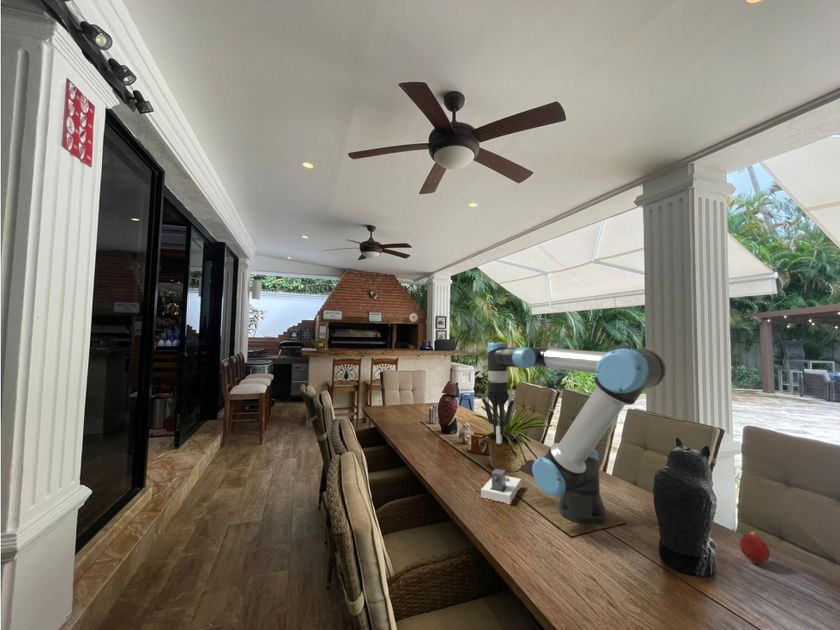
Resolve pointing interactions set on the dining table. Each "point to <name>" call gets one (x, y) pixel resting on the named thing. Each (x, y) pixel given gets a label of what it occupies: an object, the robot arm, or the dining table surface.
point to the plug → (498, 480)
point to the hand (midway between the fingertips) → (499, 442)
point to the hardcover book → (528, 468)
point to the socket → (505, 496)
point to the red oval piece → (754, 548)
